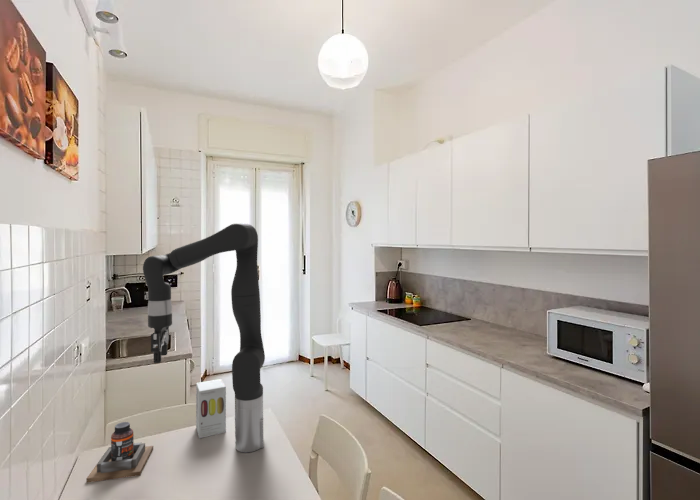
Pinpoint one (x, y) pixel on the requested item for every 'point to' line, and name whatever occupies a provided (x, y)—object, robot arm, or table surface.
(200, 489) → the table surface
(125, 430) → the supplement bottle
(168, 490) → the table surface
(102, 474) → the collar holder
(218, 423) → the supplement box
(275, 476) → the table surface
